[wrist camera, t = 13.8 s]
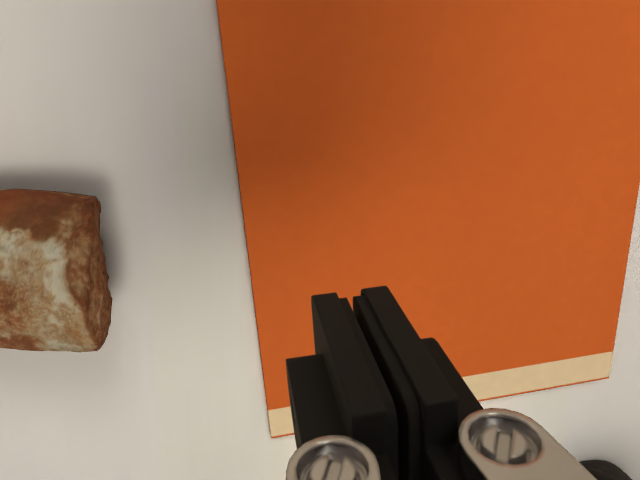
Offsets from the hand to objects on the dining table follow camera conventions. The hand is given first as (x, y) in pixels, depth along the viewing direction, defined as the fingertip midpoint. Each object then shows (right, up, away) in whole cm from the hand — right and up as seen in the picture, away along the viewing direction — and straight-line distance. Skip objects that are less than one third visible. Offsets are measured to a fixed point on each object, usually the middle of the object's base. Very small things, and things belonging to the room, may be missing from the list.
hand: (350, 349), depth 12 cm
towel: (+6, +5, +14) cm, 16 cm away
